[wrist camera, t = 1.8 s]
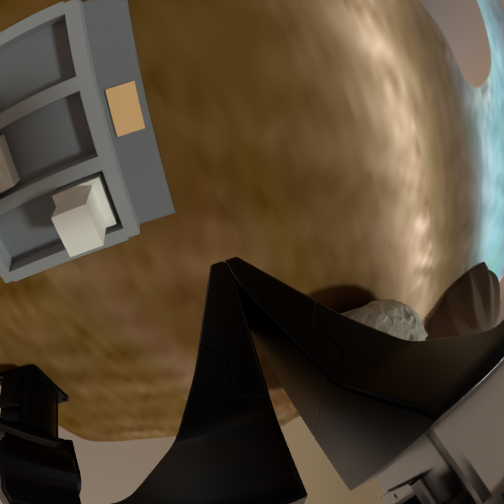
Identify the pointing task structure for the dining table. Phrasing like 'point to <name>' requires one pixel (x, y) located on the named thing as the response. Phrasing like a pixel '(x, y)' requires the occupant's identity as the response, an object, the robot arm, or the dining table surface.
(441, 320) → the decorative dome
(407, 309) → the grey rounded stone
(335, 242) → the dining table surface
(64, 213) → the tab
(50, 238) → the switch bank
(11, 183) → the tab
